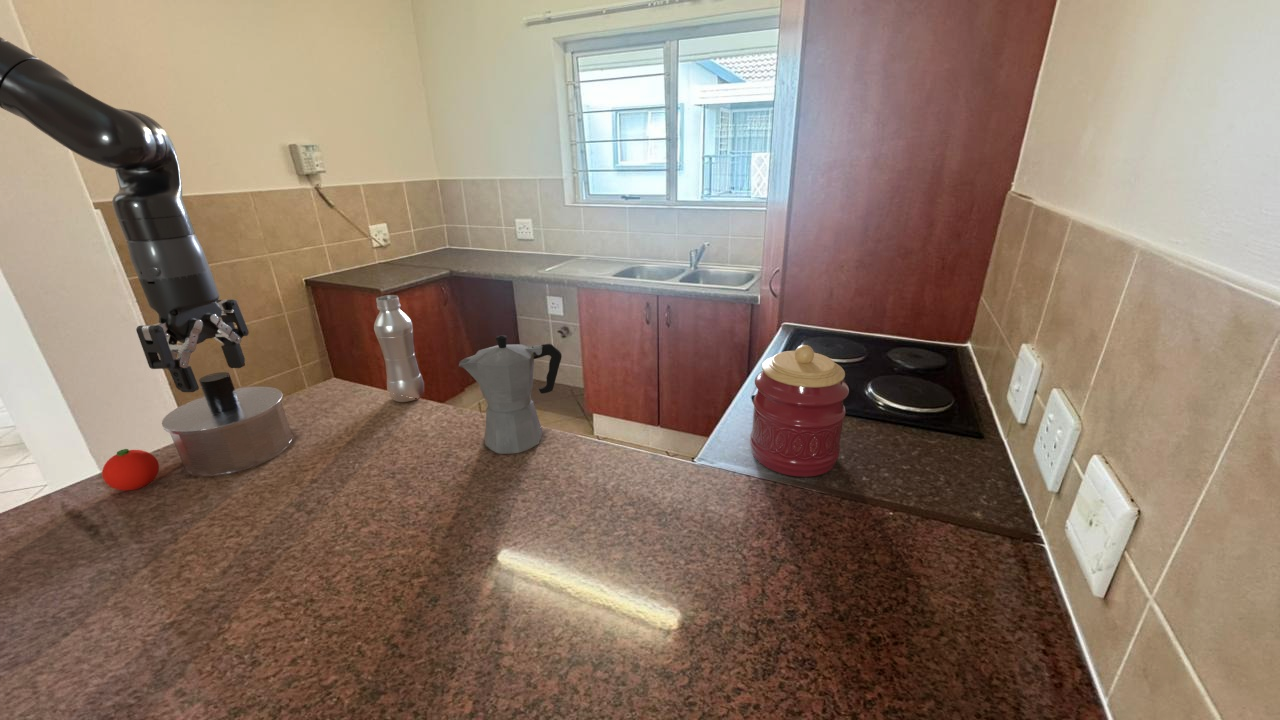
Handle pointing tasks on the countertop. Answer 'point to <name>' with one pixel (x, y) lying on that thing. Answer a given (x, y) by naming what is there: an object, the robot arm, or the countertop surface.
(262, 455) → the saucepan
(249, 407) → the pan lid
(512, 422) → the coffeepot
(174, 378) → the robot arm
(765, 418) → the kitchen canister
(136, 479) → the tomato
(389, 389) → the plastic bottle
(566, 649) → the countertop surface
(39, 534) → the countertop surface
